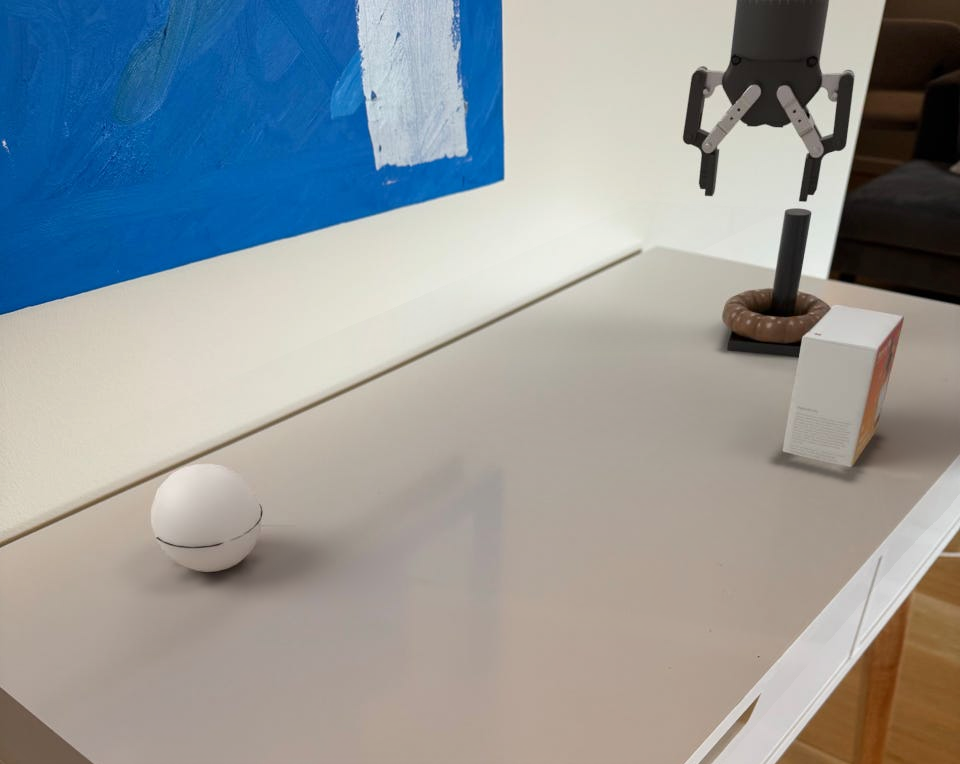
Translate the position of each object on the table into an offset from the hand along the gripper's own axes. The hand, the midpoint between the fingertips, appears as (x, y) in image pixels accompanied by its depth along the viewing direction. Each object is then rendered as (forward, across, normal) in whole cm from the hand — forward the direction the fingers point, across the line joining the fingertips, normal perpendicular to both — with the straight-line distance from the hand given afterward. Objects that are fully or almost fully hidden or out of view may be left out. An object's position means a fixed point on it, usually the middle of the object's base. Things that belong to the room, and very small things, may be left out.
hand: (756, 197), depth 94 cm
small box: (+13, +10, -24) cm, 29 cm away
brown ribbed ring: (+11, +4, 0) cm, 11 cm away
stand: (+13, +4, 0) cm, 14 cm away
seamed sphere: (+13, -29, -52) cm, 61 cm away
